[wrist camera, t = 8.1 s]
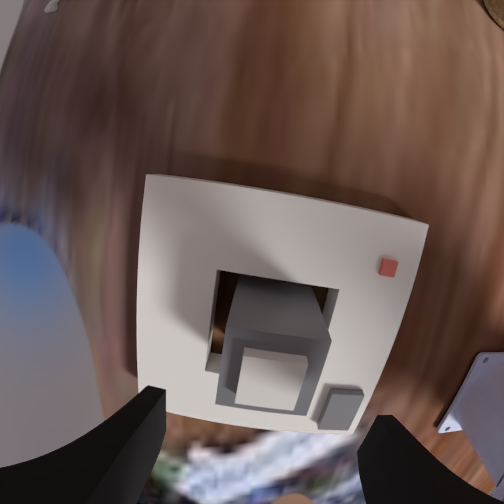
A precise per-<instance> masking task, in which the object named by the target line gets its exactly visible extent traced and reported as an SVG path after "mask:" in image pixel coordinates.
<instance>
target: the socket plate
mask: <svg viewBox="0 0 504 504" xmlns="http://www.w3.org/2000/svg"><path fill="white" fill-rule="evenodd" d="M428 226H429V225H428V224H425V223H423V222H420V221H417V220H414V219H411V218H407V217H403V216H399V215H394V214H390V213H386V212H381V211H377V210H373V209H368V208H363V207H359V206H354V205H349V204H345V203H340V202H335V201H330V200H325V199H320V198H314V197H309V196H304V195H298V194H293V193H287V192H282V191H276V190H270V189H264V188H258V187H252V186H245V185H239V184H232V183H225V182H218V181H211V180H204V179H197V178H189V177H181V176H173V175H164V174H146V179H145V188H144V197H143V207H142V217H141V229H140V242H139V258H138V280H137V370H138V390H139V392H140V391H142V390H143V389H144V388H145V387H146V386H148V385H150V386H154V387H158V388H162V389H166V412H170V413H174V414H179V415H183V416H188V417H193V418H197V419H202V420H208V421H213V422H219V423H225V424H231V425H237V426H244V427H251V428H259V429H268V430H277V431H288V432H300V433H317V434H353V433H354V431H355V429H356V427H357V425H358V423H359V421H360V419H361V417H362V415H363V413H364V411H365V409H366V407H367V404H368V402H369V400H370V398H371V396H372V394H373V391H374V389H375V387H376V385H377V382H378V380H379V378H380V376H381V373H382V371H383V368H384V366H385V364H386V361H387V359H388V356H389V354H390V351H391V348H392V346H393V343H394V341H395V338H396V335H397V332H398V330H399V327H400V324H401V321H402V318H403V315H404V312H405V309H406V306H407V303H408V300H409V297H410V294H411V291H412V287H413V284H414V281H415V277H416V274H417V270H418V267H419V263H420V259H421V255H422V251H423V247H424V243H425V239H426V235H427V231H428ZM221 270H222V271H228V272H234V273H240V274H246V275H252V276H258V277H264V278H271V279H277V280H283V281H289V282H296V283H302V284H308V285H315V286H321V287H328V288H329V289H328V293H327V297H326V301H325V305H324V309H323V313H322V315H323V318H324V321H325V323H326V326H327V329H328V331H329V334H330V337H331V340H332V342H331V345H330V348H329V352H328V355H327V358H326V361H325V364H324V367H323V370H322V373H321V376H320V379H319V382H318V385H317V388H316V390H315V393H314V396H313V399H312V402H311V404H310V407H309V410H308V413H307V415H306V416H301V415H289V414H280V413H271V412H263V411H255V410H248V409H241V408H235V407H228V406H223V405H217V404H215V401H216V394H217V386H218V379H219V372H220V365H221V357H222V354H217V353H211V352H210V351H211V343H212V335H213V327H214V319H215V311H216V303H217V295H218V288H219V280H220V273H221Z"/></svg>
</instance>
